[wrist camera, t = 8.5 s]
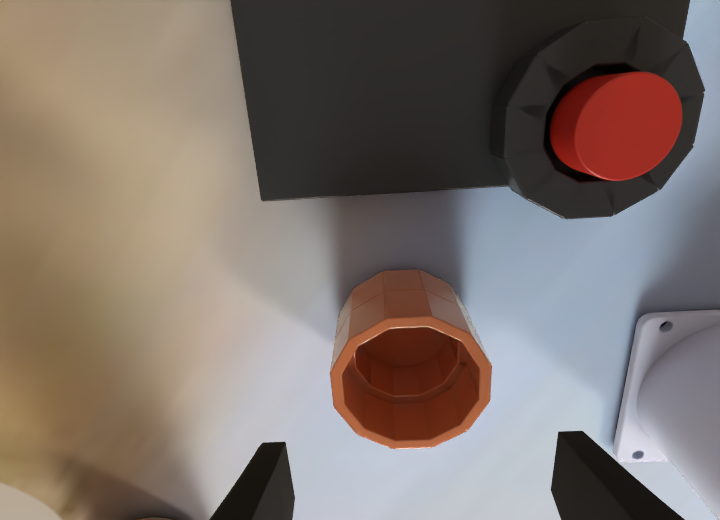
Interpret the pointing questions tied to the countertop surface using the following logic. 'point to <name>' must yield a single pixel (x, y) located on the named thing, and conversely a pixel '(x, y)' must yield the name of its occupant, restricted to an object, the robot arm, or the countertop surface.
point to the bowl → (408, 362)
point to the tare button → (616, 125)
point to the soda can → (155, 519)
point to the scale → (447, 94)
